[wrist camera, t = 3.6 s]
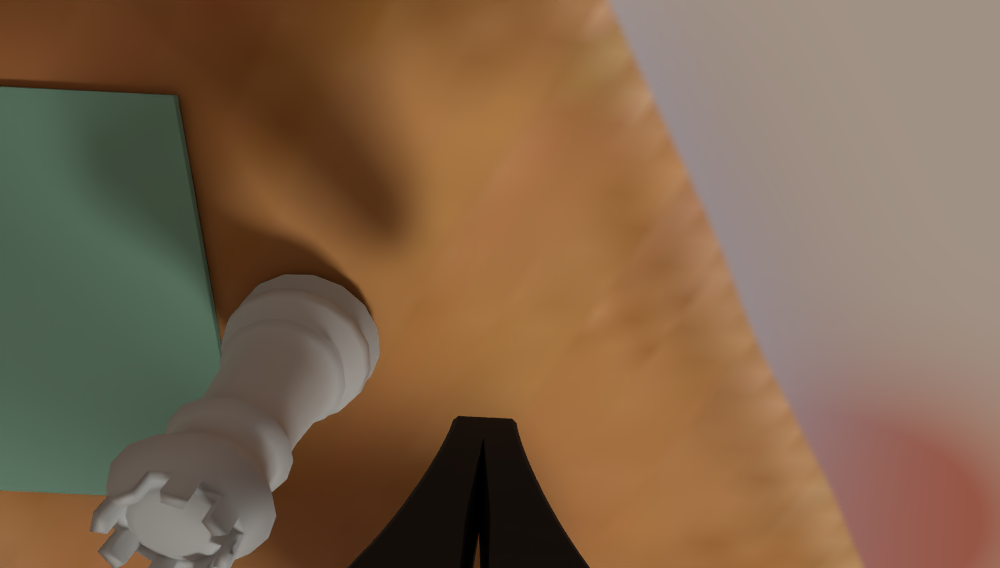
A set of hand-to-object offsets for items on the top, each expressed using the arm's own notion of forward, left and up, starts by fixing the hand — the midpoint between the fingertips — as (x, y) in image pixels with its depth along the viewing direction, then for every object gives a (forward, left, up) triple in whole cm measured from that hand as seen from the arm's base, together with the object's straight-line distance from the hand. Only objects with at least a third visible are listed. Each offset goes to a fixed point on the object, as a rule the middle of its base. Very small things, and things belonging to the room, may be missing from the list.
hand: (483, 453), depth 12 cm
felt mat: (0, +15, -5) cm, 15 cm away
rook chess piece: (0, +6, -5) cm, 8 cm away
